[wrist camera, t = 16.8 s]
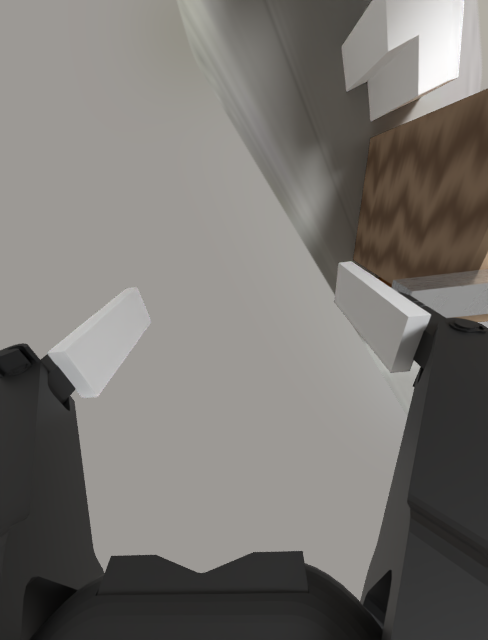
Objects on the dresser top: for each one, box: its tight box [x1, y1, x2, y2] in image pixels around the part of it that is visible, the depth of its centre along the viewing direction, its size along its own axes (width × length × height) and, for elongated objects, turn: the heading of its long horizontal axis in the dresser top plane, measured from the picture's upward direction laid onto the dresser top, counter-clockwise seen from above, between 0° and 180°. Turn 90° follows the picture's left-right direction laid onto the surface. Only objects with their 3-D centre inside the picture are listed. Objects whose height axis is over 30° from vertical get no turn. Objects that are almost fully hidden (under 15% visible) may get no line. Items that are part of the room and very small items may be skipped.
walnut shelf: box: [353, 89, 488, 322], centre depth 31 cm, size 22×12×28 cm, turn 7°
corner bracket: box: [341, 0, 464, 121], centre depth 29 cm, size 11×11×12 cm
